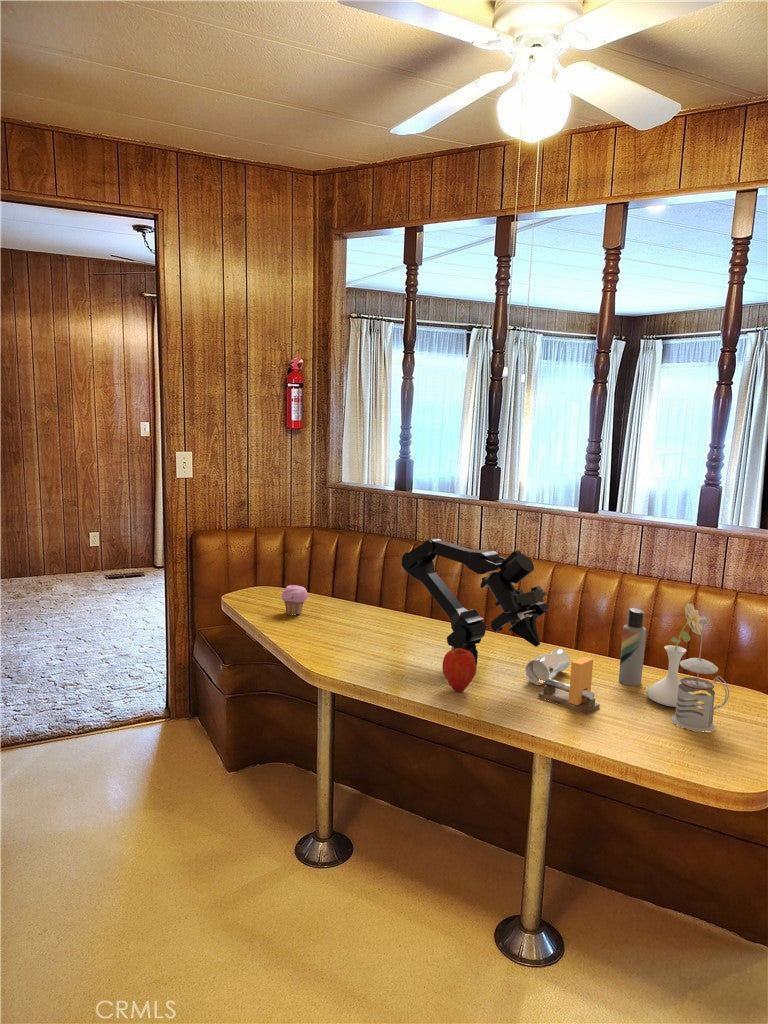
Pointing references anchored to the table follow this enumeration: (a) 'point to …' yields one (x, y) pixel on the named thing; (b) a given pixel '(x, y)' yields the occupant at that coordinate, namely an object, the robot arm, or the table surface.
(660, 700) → the flower in vase
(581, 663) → the collar
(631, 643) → the lotion bottle
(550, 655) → the beer glass
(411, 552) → the robot arm
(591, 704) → the pipe board
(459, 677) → the red strawberry
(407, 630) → the table surface
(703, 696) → the french press
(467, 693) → the table surface
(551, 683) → the steel pipe
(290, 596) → the cupcake
